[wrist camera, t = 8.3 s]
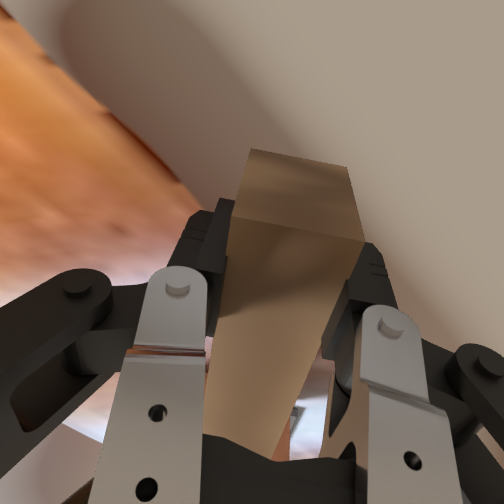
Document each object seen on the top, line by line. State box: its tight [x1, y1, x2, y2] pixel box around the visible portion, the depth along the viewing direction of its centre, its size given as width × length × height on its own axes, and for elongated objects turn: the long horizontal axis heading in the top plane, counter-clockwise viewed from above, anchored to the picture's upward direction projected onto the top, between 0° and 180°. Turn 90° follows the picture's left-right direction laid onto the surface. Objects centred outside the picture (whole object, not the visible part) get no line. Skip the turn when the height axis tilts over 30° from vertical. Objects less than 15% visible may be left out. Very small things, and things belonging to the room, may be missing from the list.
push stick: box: [202, 148, 365, 460], centre depth 14 cm, size 3×16×4 cm, turn 171°
